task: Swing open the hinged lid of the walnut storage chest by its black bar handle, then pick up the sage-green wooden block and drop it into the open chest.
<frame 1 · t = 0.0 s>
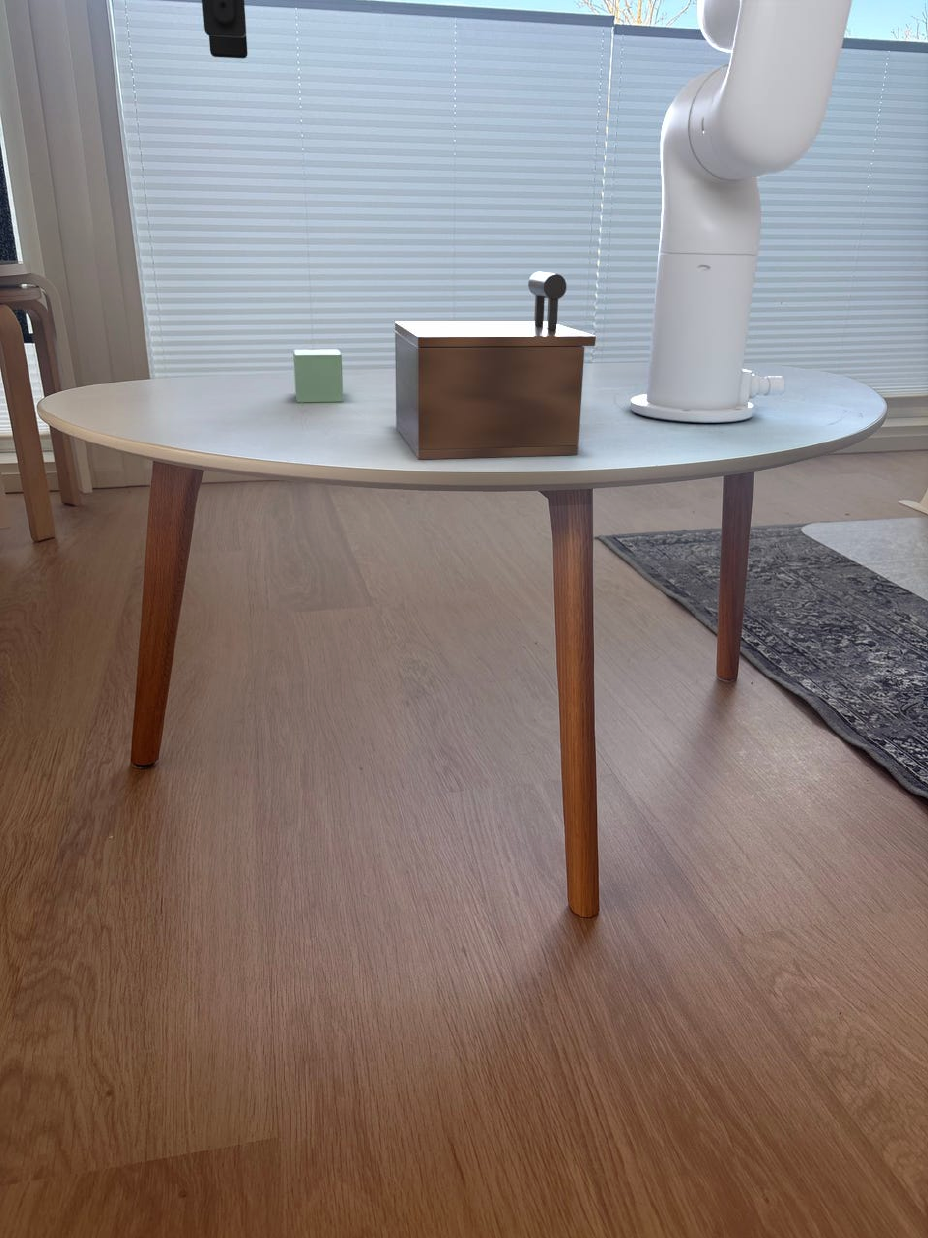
hand: (227, 46, 77), 31 cm above the table, tool pointing down, fingers open, 9 cm apart
block: (318, 398, 103), on the table
chest: (481, 440, 83), on the table
chest lid: (490, 305, 79), point 11 cm above the table, hinge at 0.0°
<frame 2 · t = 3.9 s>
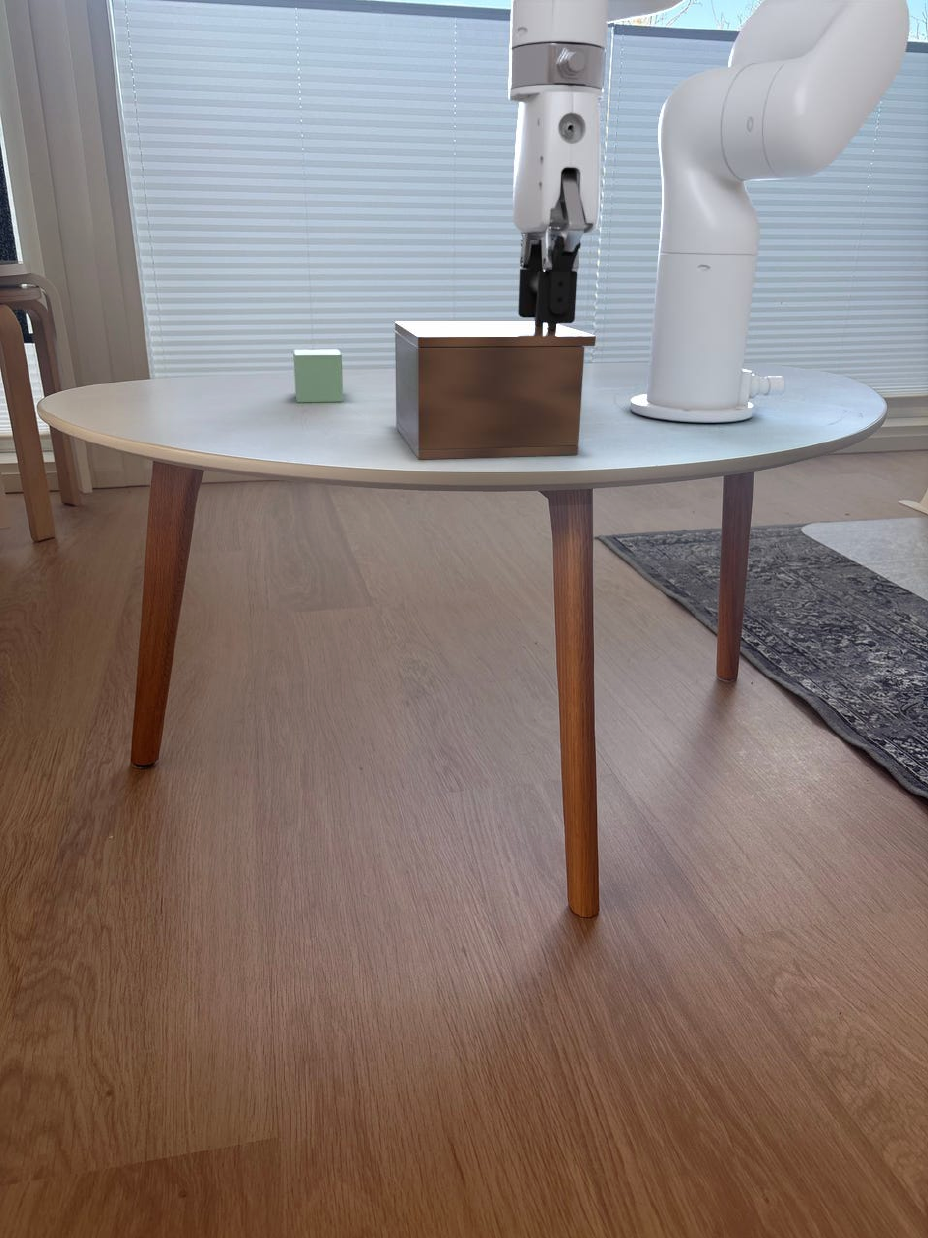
hand: (545, 317, 80), 11 cm above the table, tool pointing down, fingers closed on chest lid, 5 cm apart
chest lid: (490, 305, 79), point 11 cm above the table, hinge at 0.0°, touching gripper
everything else where it was.
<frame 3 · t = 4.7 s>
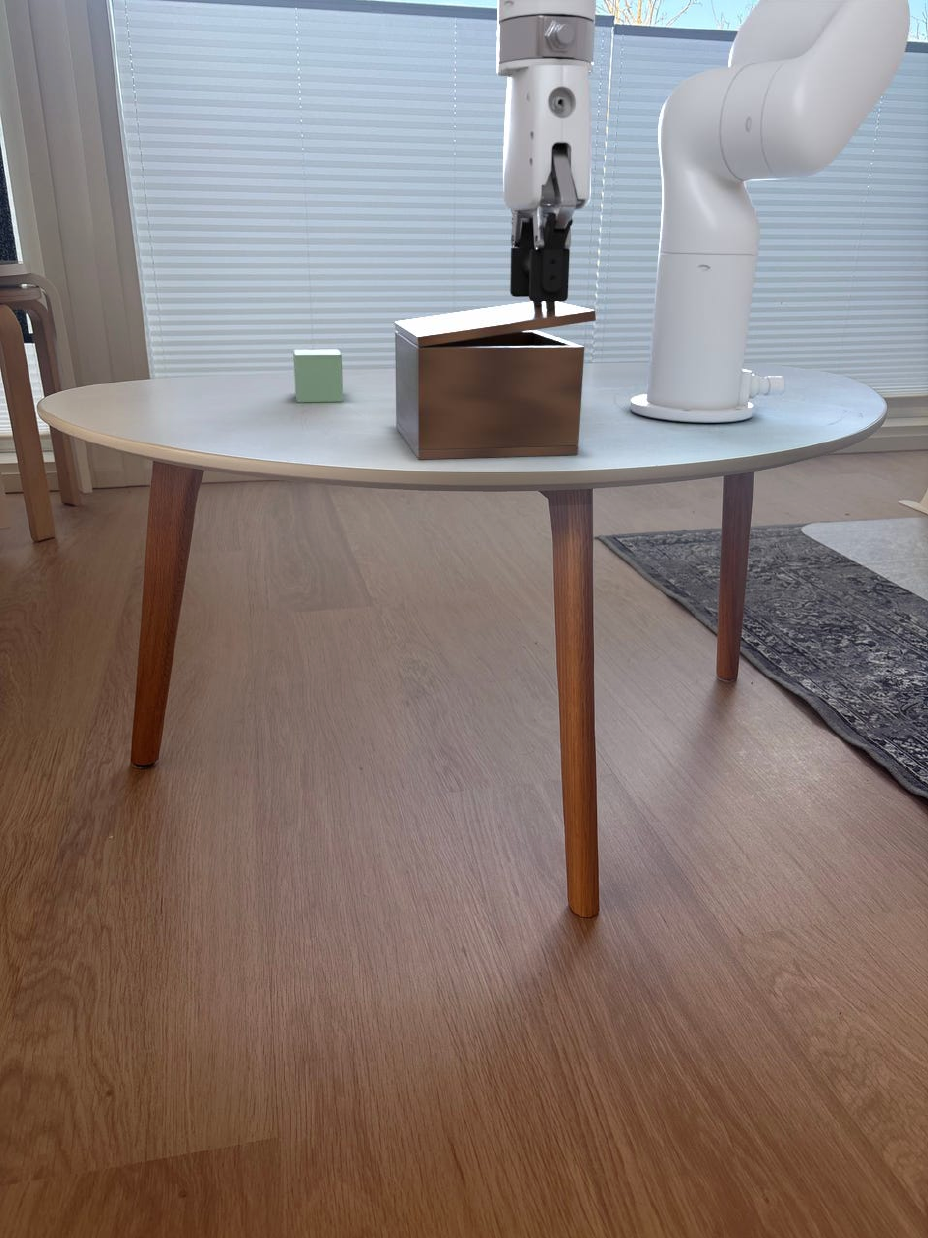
hand: (538, 296, 79), 12 cm above the table, tool pointing down, fingers closed on chest lid, 5 cm apart
chest lid: (486, 293, 78), point 12 cm above the table, hinge at 7.8°, touching gripper
everything else where it was.
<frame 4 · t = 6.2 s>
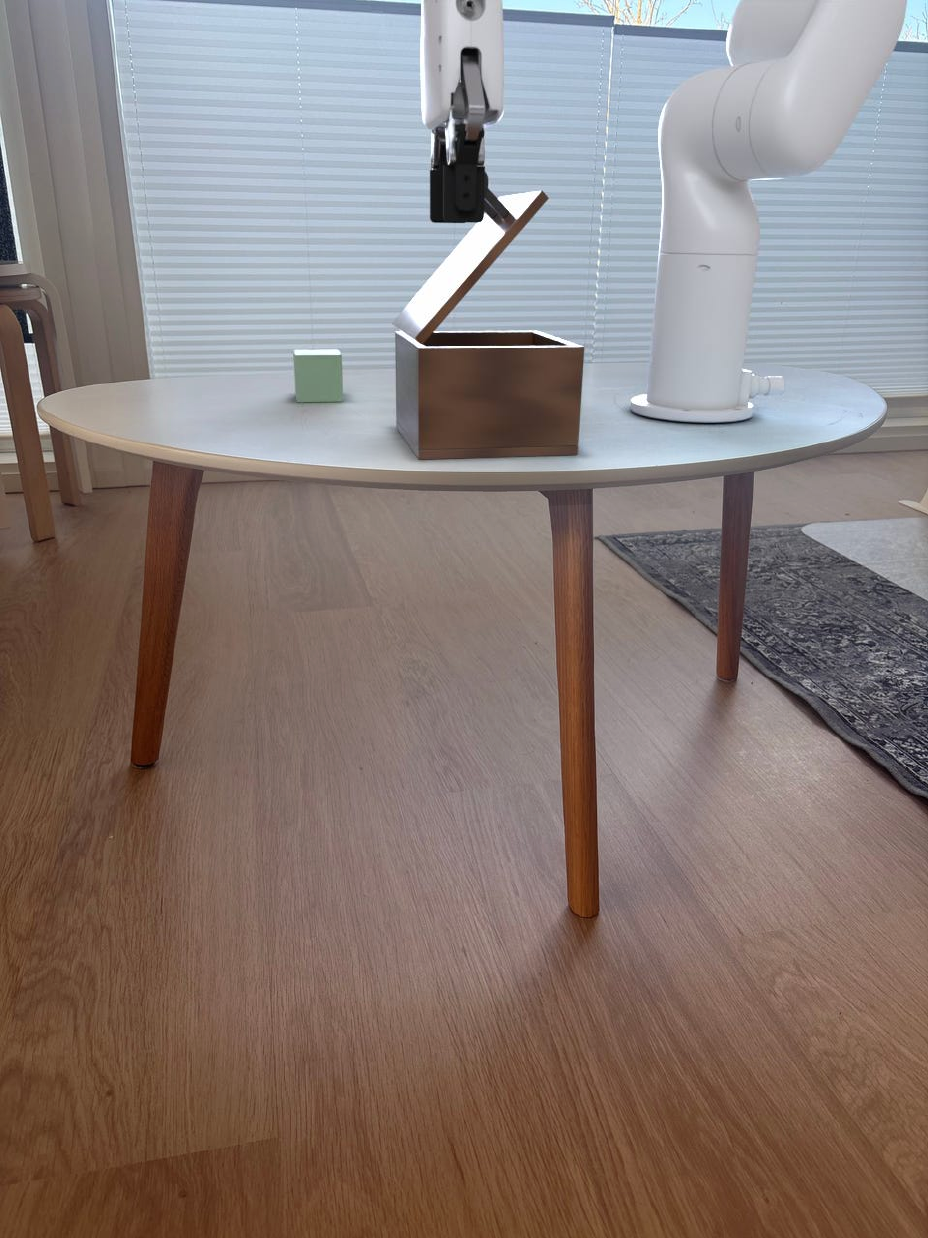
hand: (456, 219, 76), 18 cm above the table, tool pointing down, fingers closed on chest lid, 5 cm apart
chest lid: (443, 246, 76), point 16 cm above the table, hinge at 47.6°, touching gripper
everything else where it was.
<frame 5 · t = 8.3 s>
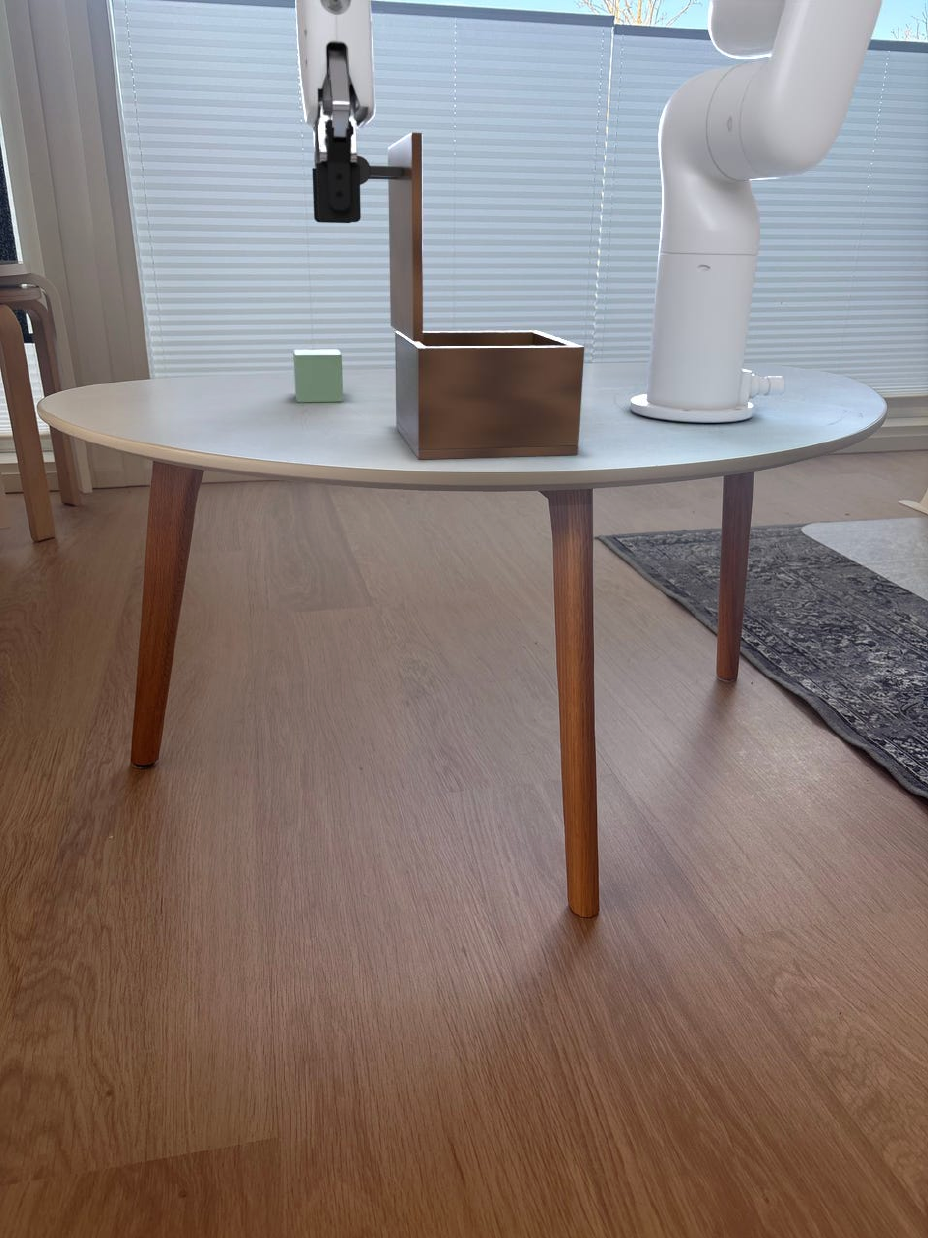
hand: (336, 219, 74), 18 cm above the table, tool pointing down, fingers closed on chest lid, 5 cm apart
chest lid: (377, 240, 75), point 16 cm above the table, hinge at 90.1°, touching gripper
everything else where it was.
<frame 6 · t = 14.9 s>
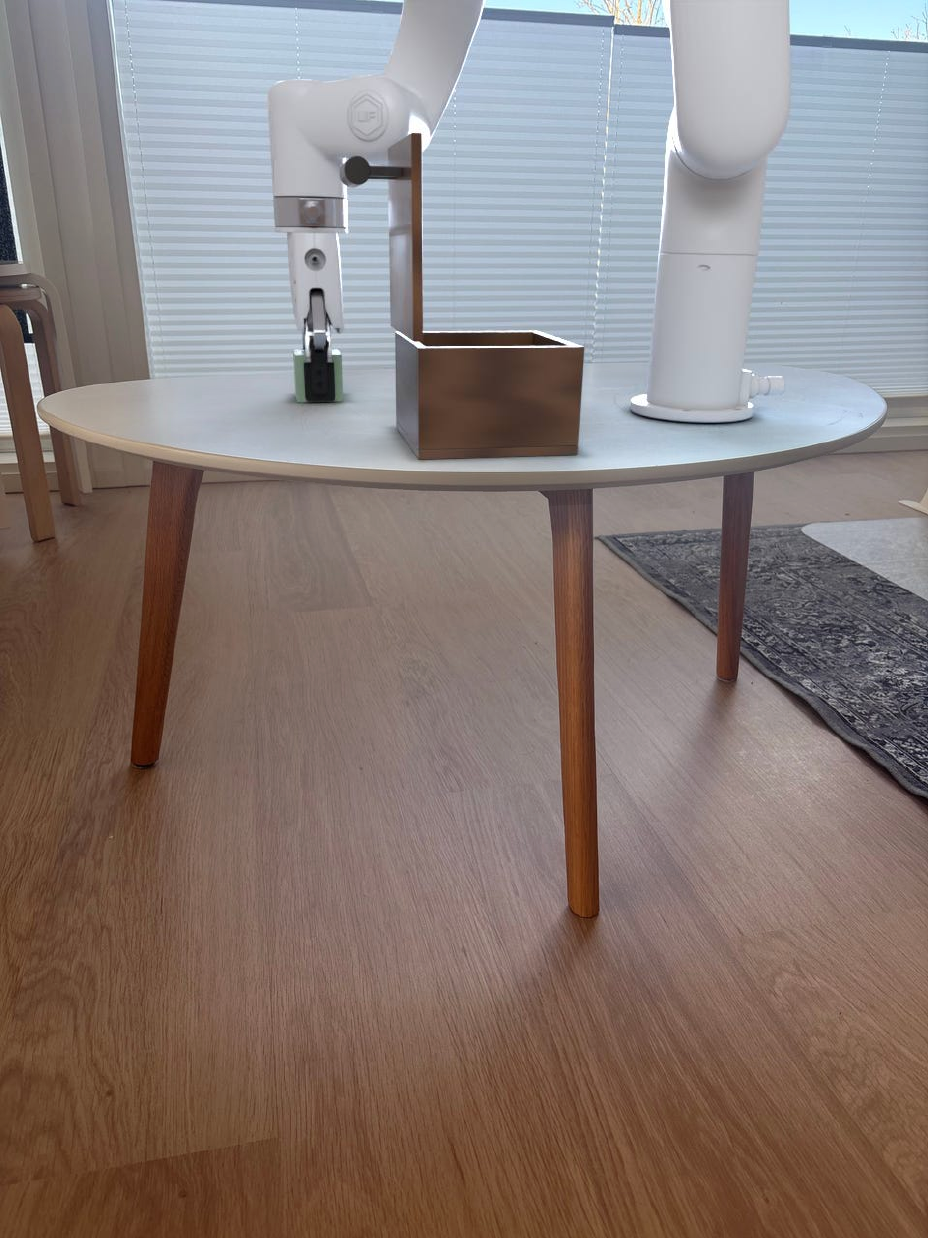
hand: (318, 394, 103), 0 cm above the table, tool pointing down, fingers closed on block, 5 cm apart
block: (318, 398, 103), on the table, touching gripper
chest lid: (377, 240, 75), point 16 cm above the table, hinge at 90.2°
everything else where it was.
when the fingers open (7 cm above the table, at t = 25.5 s): block drops 6 cm, resting on chest.
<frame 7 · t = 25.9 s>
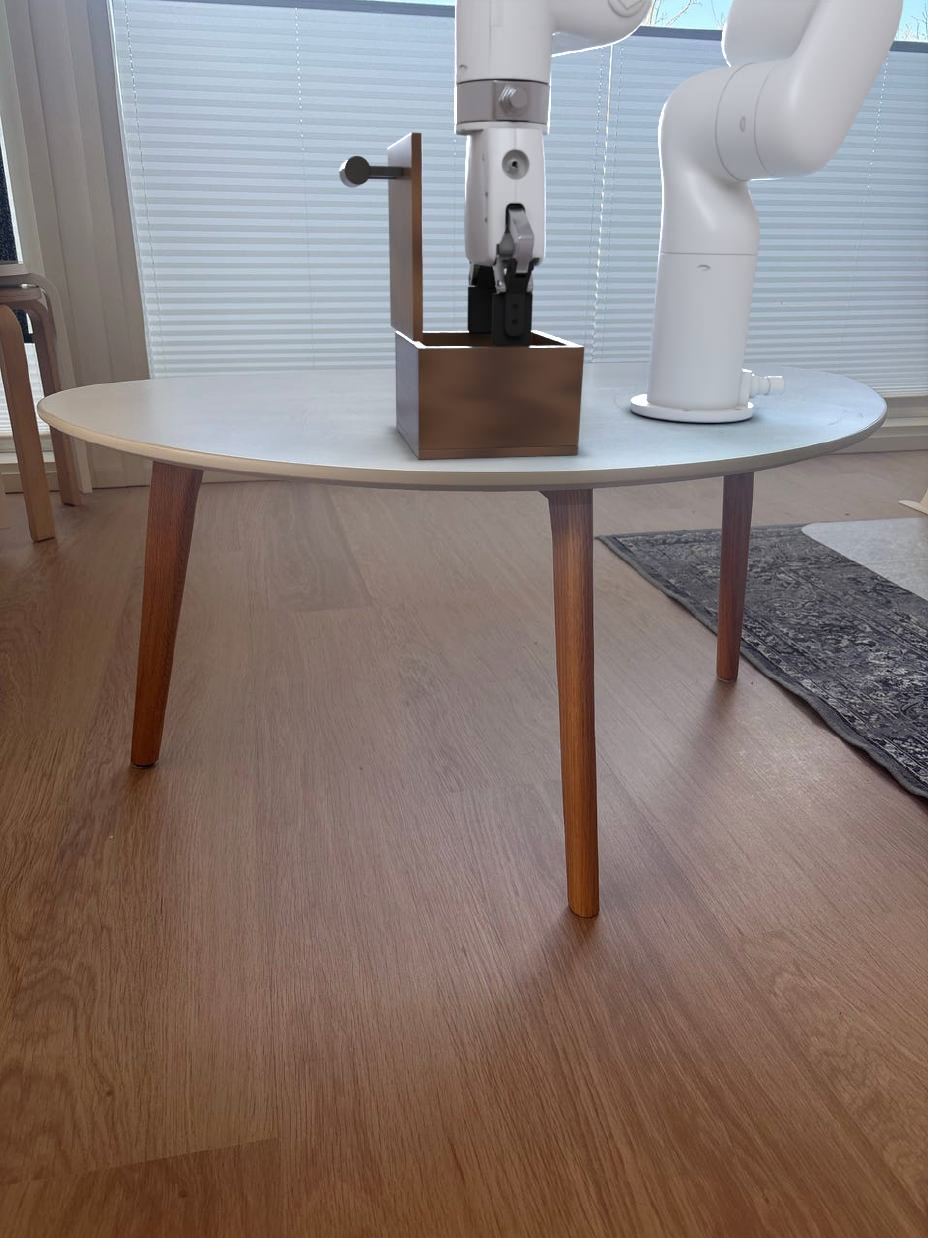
hand: (497, 338, 80), 9 cm above the table, tool pointing down, fingers open, 9 cm apart
block: (492, 431, 83), point 1 cm above the table, touching chest
everything else where it was.
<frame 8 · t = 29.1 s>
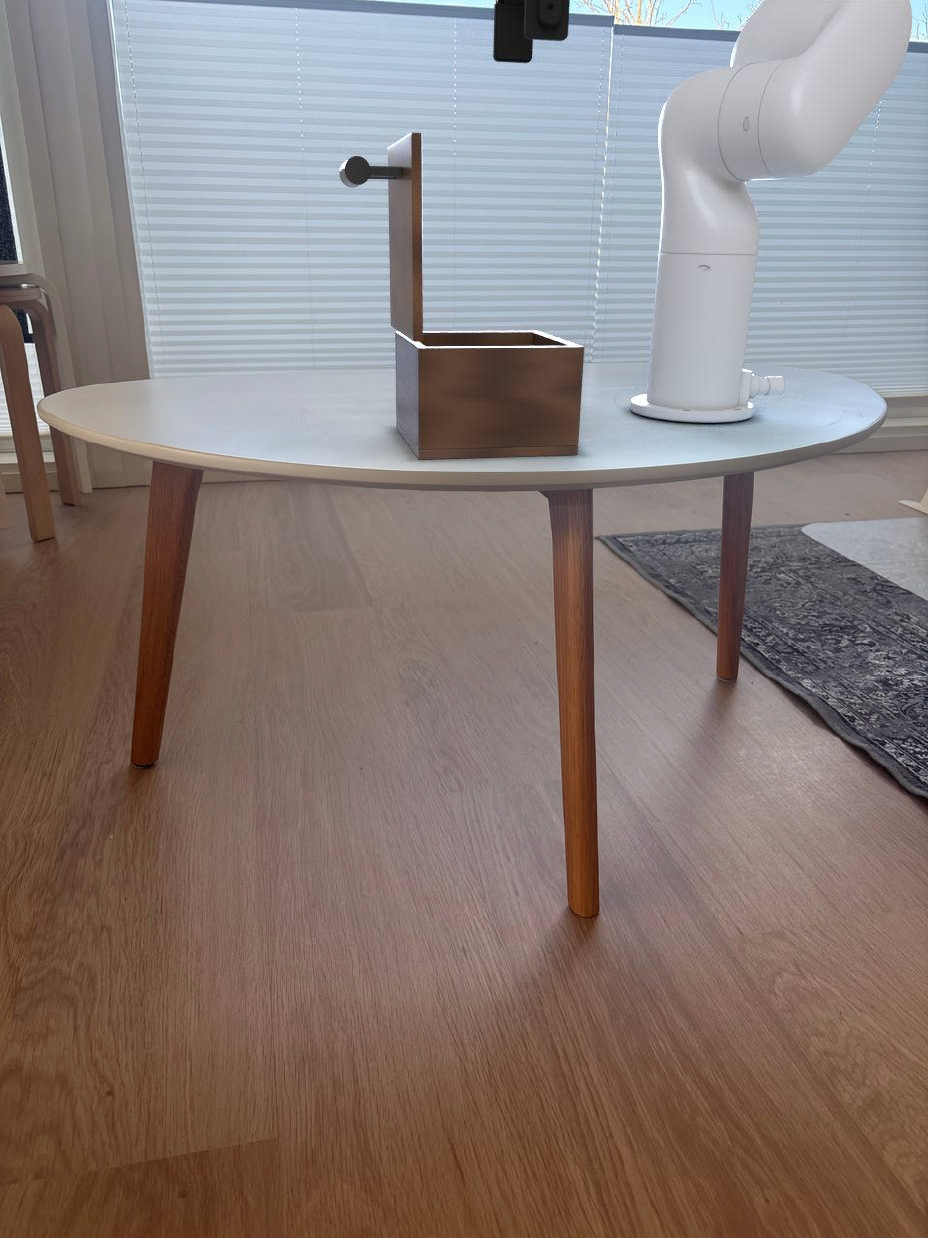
hand: (528, 51, 72), 30 cm above the table, tool pointing down, fingers open, 9 cm apart
nothing on the table moved.
at the end: chest lid at +90° (first picture: +0°); block inside the target area in the chest (1.0 cm from its centre), point 0.8 cm above the chest's base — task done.
